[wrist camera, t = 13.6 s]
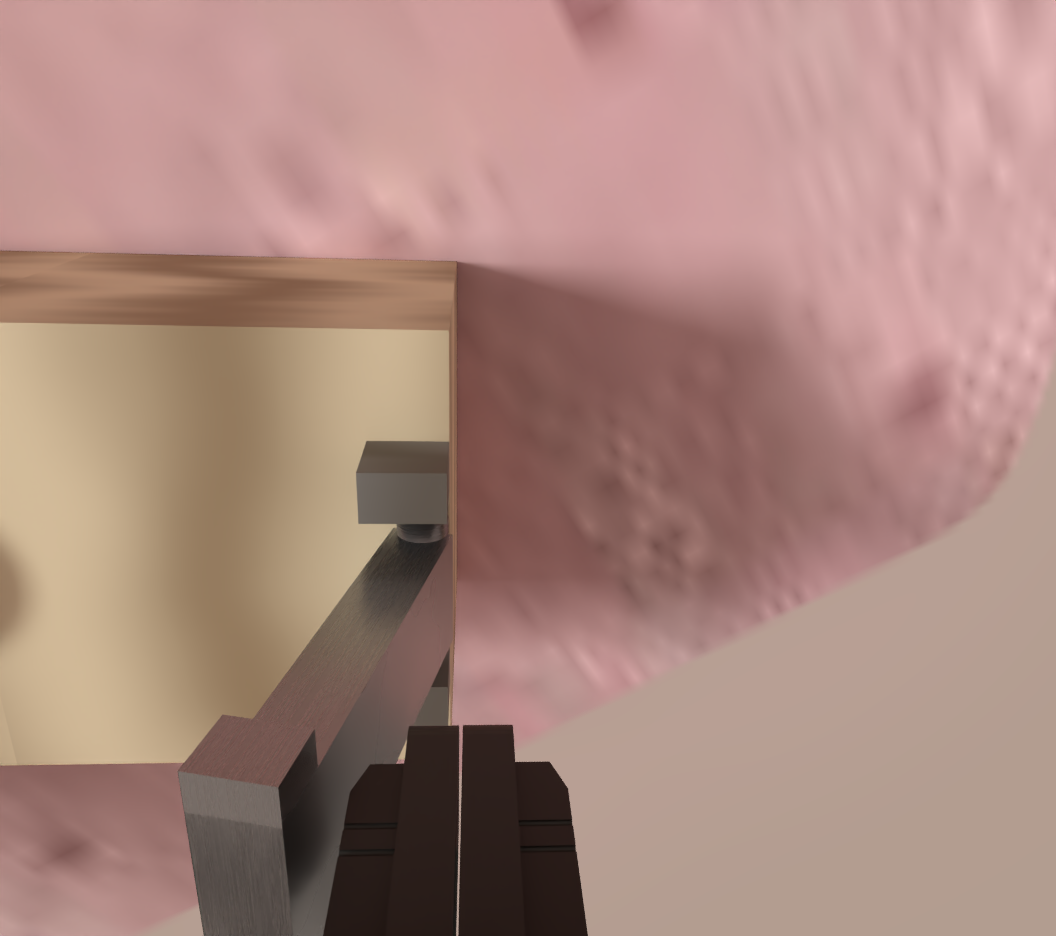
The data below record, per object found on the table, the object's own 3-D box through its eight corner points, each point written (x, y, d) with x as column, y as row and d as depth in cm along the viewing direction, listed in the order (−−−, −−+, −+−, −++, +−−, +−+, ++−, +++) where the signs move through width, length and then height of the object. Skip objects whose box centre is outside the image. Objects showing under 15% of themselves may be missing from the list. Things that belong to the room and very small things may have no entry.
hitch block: (-72, 583, 26) (-354, 827, 17) (-163, 247, 22) (-589, 336, 13) (456, 582, 27) (448, 810, 18) (457, 261, 23) (446, 353, 14)
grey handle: (212, 992, 11) (300, 1010, 11) (177, 771, 10) (278, 787, 9) (404, 643, 18) (459, 650, 18) (400, 489, 17) (459, 496, 17)
